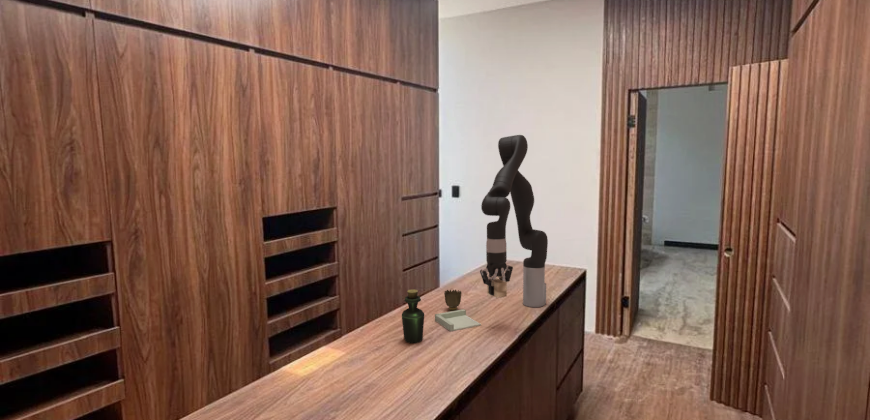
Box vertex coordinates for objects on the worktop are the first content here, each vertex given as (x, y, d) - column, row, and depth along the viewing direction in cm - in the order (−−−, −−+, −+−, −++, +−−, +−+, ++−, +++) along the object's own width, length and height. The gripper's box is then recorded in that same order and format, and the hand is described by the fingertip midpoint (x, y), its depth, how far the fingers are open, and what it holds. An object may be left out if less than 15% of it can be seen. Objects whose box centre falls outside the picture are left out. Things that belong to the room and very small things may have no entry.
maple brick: (496, 291, 178) (495, 277, 177) (506, 296, 171) (506, 282, 171) (487, 293, 176) (487, 279, 175) (497, 298, 170) (497, 283, 169)
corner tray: (464, 315, 189) (464, 309, 188) (481, 325, 177) (481, 319, 177) (434, 320, 183) (434, 314, 183) (450, 331, 171) (450, 324, 171)
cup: (460, 313, 191) (460, 294, 190) (442, 312, 192) (442, 293, 191) (462, 307, 198) (462, 289, 197) (446, 306, 200) (445, 288, 199)
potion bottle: (419, 345, 158) (418, 295, 156) (398, 342, 161) (397, 293, 159) (428, 337, 166) (427, 288, 164) (407, 334, 169) (406, 287, 167)
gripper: (506, 245, 178) (506, 288, 180) (474, 250, 172) (475, 294, 174) (517, 249, 171) (518, 293, 173) (485, 253, 165) (486, 299, 167)
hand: (496, 293), depth 174 cm, fingers closed on maple brick, 4 cm apart
